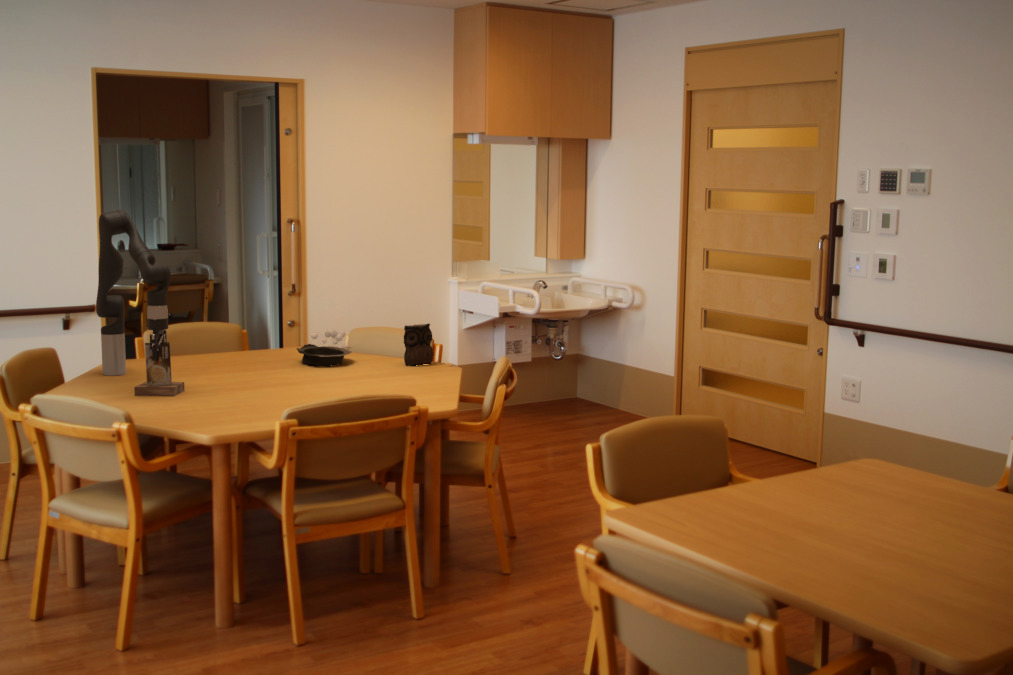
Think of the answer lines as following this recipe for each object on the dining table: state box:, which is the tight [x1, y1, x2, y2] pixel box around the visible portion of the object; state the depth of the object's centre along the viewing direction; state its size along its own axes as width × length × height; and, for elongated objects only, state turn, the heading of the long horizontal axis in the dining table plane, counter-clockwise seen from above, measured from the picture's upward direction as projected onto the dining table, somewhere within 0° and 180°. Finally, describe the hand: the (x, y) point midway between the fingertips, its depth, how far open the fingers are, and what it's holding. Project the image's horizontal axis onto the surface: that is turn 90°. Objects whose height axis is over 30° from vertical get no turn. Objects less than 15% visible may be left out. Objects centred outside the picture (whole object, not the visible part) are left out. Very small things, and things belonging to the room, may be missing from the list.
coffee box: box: [144, 341, 173, 386], centre depth 376 cm, size 9×6×16 cm
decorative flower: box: [310, 329, 348, 349], centre depth 478 cm, size 25×22×14 cm
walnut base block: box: [133, 381, 185, 397], centre depth 377 cm, size 12×15×4 cm
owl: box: [403, 323, 435, 367], centre depth 448 cm, size 13×13×20 cm
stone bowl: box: [296, 343, 352, 367], centre depth 448 cm, size 25×25×9 cm
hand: (159, 359), depth 376 cm, fingers open, 8 cm apart
